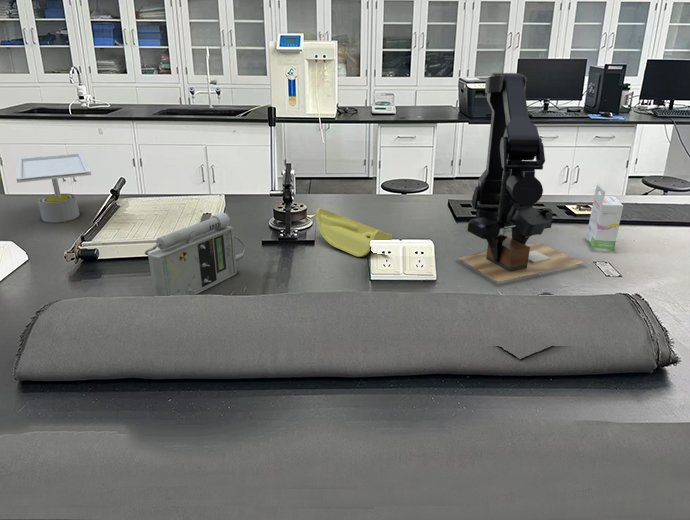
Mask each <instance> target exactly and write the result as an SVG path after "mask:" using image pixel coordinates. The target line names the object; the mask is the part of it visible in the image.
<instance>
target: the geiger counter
mask: <svg viewBox="0 0 690 520" xmlns="http://www.w3.org/2000/svg"><path fill="white" fill-rule="evenodd" d="M230 224H231V220H230V217H229V214H227V213H226V212H220V213H218V214H217V213H216V214H214V215H212V216H211V217H210V218H208V219H206V220H203V221H199V222H197V223H194V224H191V225H189V226H187V227H184V228H181V229H178V230H176V231H172V232H171V233H167V234H165V235H162V236H159V237H157V238H156V240H155V245H154V246H153V247H151V248H149V249H146V250H145V251H144V255H145V256H147V257H148V264H149V270H150V276H151V283H152V289H153V290H152V291H153V297H154V296H170V295H194V296H196V295H198V294H200V293H202V292H204V291H206V290H208V289H210V288H211V287H214V286H216V285H218V284H220V283H222V282H223V281H226V280H228V279H230V278H233V277H234V276H235V275H237V274H238V271H237V262H239V261H240V260H242V259H243V258H244V255H245V254H246V250H247V249H246V244H245V242H244V241H243V240H242V239H241V238H240V237H238V236H237V235H234V227H233V226H231V225H230ZM235 239H236V240H237V241H239V242H240V243H241V244H242V249H243V250H242V253H239V254H236V247H235ZM157 248H158V249H157ZM156 249H157V250H156ZM154 250H155V251H154Z"/></svg>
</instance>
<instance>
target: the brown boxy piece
mask: <svg viewBox="0 0 690 520" xmlns="http://www.w3.org/2000/svg"><path fill="white" fill-rule="evenodd" d="M505 236H506V237H507V238H506V239H505V240H504V241H503V243H502V249H501V256H500V260H499V262H495V261H494V258H493V255H492V252H491V250H490V247H489V244H488V243H487V248H486V253H487V256H486V259H487V260H489V261H491V262H493V263H494V264H496V265H498V266H500V267H502V268H503V269H505V270H507V271H509V272H512V271H517V270H521V269H526V268H527V264H528V258H529V251H530V247H529V246H527V245H528V244H525V245H524V244H522V243H520V242H518V241H516V240H514V239H512V237H510V236H508V235H505Z"/></svg>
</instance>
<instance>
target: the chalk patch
mask: <svg viewBox="0 0 690 520" xmlns="http://www.w3.org/2000/svg"><path fill="white" fill-rule="evenodd" d="M550 259H551V258H550V257H547V256H545V255H543V254H541V253H539V252H537V251H531V252H529V258H528V261H530V262H532V263H536V262H541V261H546V260H550Z"/></svg>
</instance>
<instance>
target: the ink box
mask: <svg viewBox="0 0 690 520" xmlns="http://www.w3.org/2000/svg"><path fill="white" fill-rule="evenodd" d="M623 209H624V205H623V203H621V202H620V200H619V199H618V198H617V197H616V196H613V195H606V190H605V189H604V188H603V187H602V186H601V185H600V184H599V183H597V184H596V187H595V192H594V195H593V200H592V207H591V211H590V217H589V222H588V227H587V232H586V237H585V240H586V241H587V242H589V243H590V244H591V246H592V247H593V248H595V249H607V250H609V251H612V252H614V251H615V247H616V243H617V237H618V232H619V227H620V223H621V218H622V213H623V211H624V210H623Z"/></svg>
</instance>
